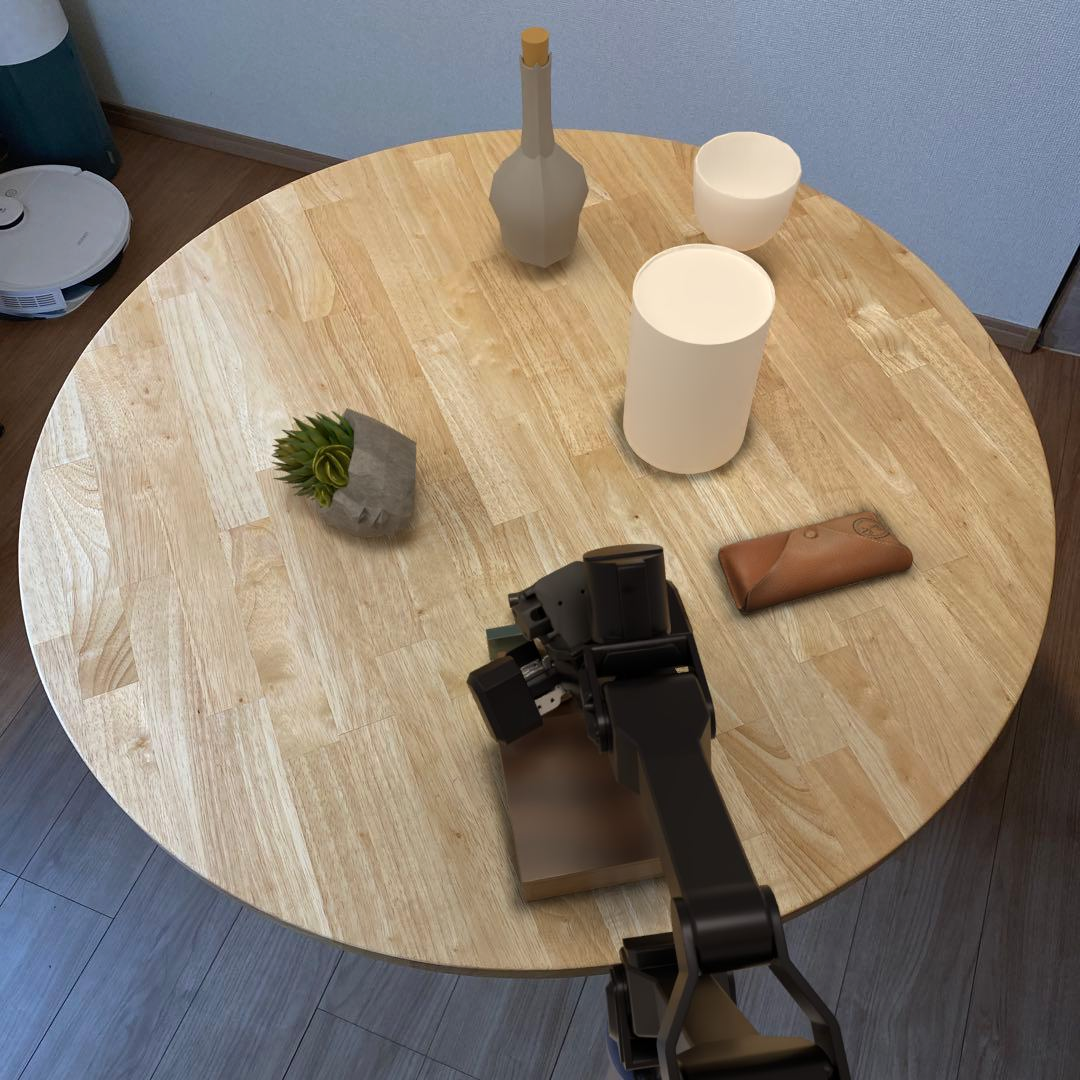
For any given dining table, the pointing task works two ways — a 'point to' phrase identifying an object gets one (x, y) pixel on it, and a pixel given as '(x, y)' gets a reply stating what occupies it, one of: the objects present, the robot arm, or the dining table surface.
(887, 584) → the dining table surface
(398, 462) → the potted plant
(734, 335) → the canister
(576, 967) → the dining table surface
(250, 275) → the dining table surface
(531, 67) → the bottle
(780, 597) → the sunglasses case
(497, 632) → the drawer
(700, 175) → the cup
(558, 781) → the cabinet
